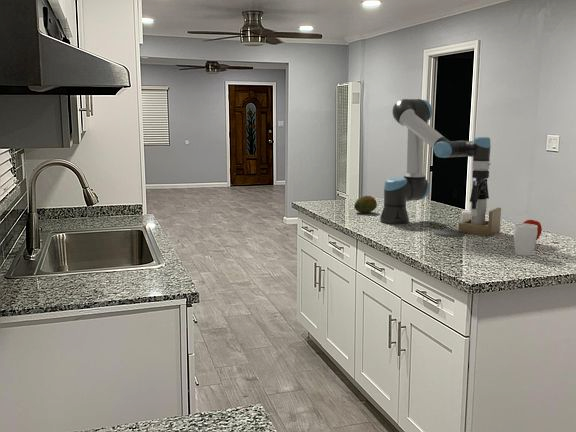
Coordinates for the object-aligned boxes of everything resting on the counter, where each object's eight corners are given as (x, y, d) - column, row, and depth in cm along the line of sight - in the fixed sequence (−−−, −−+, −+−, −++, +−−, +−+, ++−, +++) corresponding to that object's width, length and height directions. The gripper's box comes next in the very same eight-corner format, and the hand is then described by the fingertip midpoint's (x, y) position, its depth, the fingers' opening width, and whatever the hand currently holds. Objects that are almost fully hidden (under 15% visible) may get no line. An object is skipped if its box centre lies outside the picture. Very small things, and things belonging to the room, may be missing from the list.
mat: (429, 234, 276) (429, 233, 276) (440, 230, 287) (440, 229, 287) (458, 238, 268) (458, 237, 268) (468, 233, 279) (468, 232, 279)
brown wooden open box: (458, 233, 279) (459, 208, 277) (468, 228, 290) (469, 205, 288) (490, 237, 270) (492, 211, 268) (499, 232, 281) (501, 207, 279)
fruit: (379, 213, 338) (380, 196, 337) (363, 215, 331) (364, 198, 330) (366, 210, 348) (366, 194, 346) (350, 212, 341) (350, 195, 339)
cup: (508, 252, 240) (509, 223, 238) (529, 251, 241) (531, 223, 239) (518, 257, 231) (520, 227, 229) (540, 256, 232) (542, 227, 230)
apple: (517, 241, 260) (518, 217, 259) (536, 241, 260) (537, 217, 258) (524, 245, 252) (525, 221, 250) (544, 245, 252) (545, 221, 250)
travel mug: (484, 231, 283) (486, 191, 279) (484, 234, 276) (486, 192, 273) (471, 230, 285) (473, 190, 281) (470, 233, 278) (472, 192, 275)
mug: (482, 228, 293) (483, 212, 291) (461, 227, 295) (462, 211, 293) (479, 223, 304) (480, 208, 303) (459, 223, 306) (460, 208, 305)
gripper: (480, 172, 263) (478, 218, 267) (496, 168, 283) (494, 211, 287) (464, 171, 268) (462, 216, 271) (481, 167, 288) (479, 209, 291)
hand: (478, 213), depth 279 cm, fingers open, 13 cm apart
